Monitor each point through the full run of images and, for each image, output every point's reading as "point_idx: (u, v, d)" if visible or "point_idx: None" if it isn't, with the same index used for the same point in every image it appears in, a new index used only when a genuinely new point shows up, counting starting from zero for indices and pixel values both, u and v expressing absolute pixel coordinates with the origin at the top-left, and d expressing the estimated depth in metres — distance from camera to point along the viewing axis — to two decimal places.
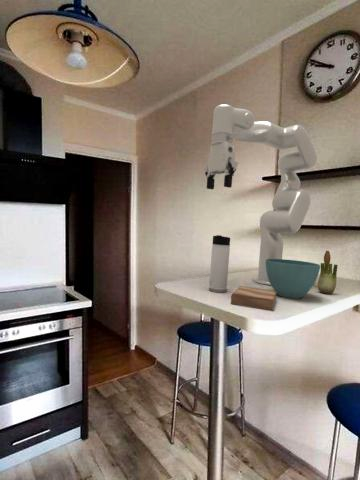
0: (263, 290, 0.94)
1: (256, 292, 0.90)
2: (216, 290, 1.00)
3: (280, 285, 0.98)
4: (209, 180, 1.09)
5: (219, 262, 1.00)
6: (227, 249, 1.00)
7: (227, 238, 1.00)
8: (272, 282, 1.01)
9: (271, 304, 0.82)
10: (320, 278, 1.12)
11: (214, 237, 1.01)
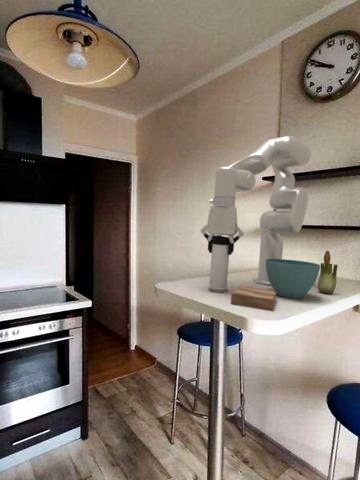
0: (263, 290, 0.94)
1: (256, 292, 0.90)
2: (216, 290, 1.00)
3: (280, 285, 0.98)
4: None
5: (219, 262, 1.00)
6: (227, 249, 1.00)
7: (227, 238, 1.00)
8: (272, 282, 1.01)
9: (271, 304, 0.82)
10: (320, 278, 1.12)
11: (214, 237, 1.01)
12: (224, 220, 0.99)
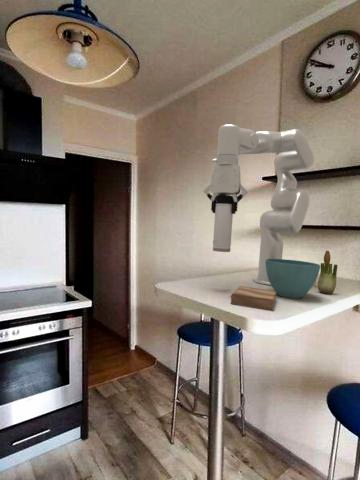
0: (263, 290, 0.94)
1: (256, 292, 0.90)
2: (220, 249, 1.00)
3: (280, 285, 0.98)
4: None
5: (222, 220, 0.99)
6: (231, 208, 1.00)
7: (230, 197, 0.99)
8: (272, 282, 1.01)
9: (271, 304, 0.82)
10: (320, 278, 1.12)
11: (217, 196, 1.00)
12: (228, 178, 0.98)
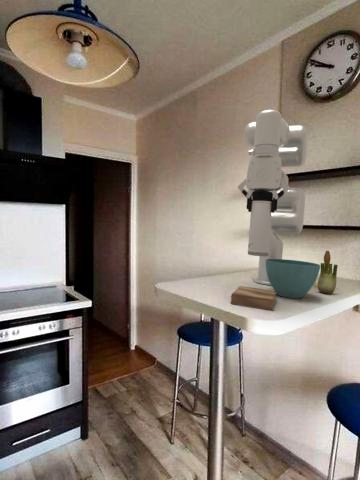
0: (263, 290, 0.94)
1: (256, 292, 0.90)
2: (257, 253, 0.87)
3: (280, 285, 0.98)
4: None
5: (261, 220, 0.87)
6: (270, 206, 0.87)
7: (270, 193, 0.87)
8: (272, 282, 1.01)
9: (271, 304, 0.82)
10: (320, 278, 1.12)
11: (255, 193, 0.88)
12: (268, 172, 0.86)
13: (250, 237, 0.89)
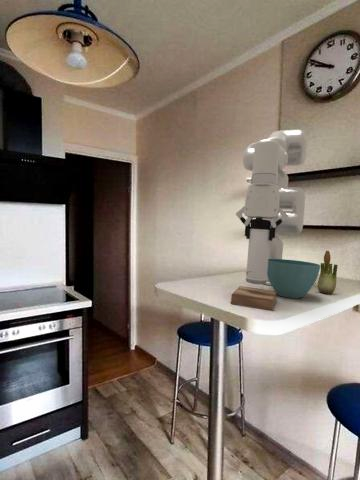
0: (263, 290, 0.94)
1: (256, 292, 0.90)
2: (255, 281, 0.87)
3: (280, 285, 0.98)
4: None
5: (259, 249, 0.87)
6: (268, 234, 0.87)
7: (268, 221, 0.87)
8: (272, 282, 1.01)
9: (271, 304, 0.82)
10: (320, 278, 1.12)
11: (253, 221, 0.88)
12: (266, 200, 0.86)
13: (248, 265, 0.89)
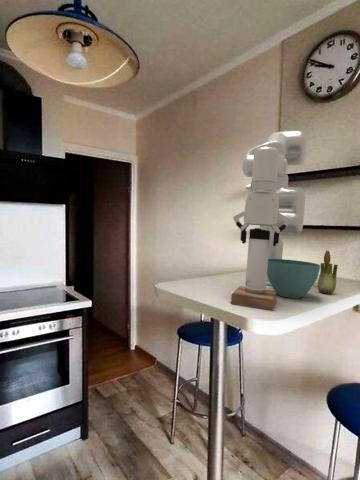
0: None
1: None
2: (255, 291, 0.88)
3: (280, 285, 0.98)
4: None
5: (258, 259, 0.87)
6: (267, 244, 0.88)
7: (267, 232, 0.87)
8: (272, 282, 1.01)
9: (271, 304, 0.82)
10: (320, 278, 1.12)
11: (252, 231, 0.89)
12: (265, 208, 0.86)
13: (247, 274, 0.90)
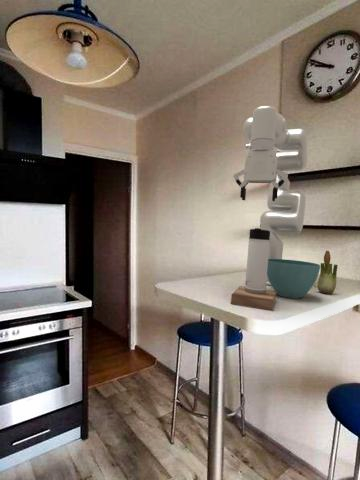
0: None
1: None
2: (255, 291, 0.88)
3: (280, 285, 0.98)
4: None
5: (258, 259, 0.87)
6: (267, 244, 0.88)
7: (267, 232, 0.87)
8: (272, 282, 1.01)
9: (271, 304, 0.82)
10: (320, 278, 1.12)
11: (252, 231, 0.88)
12: (264, 165, 0.91)
13: (247, 274, 0.90)
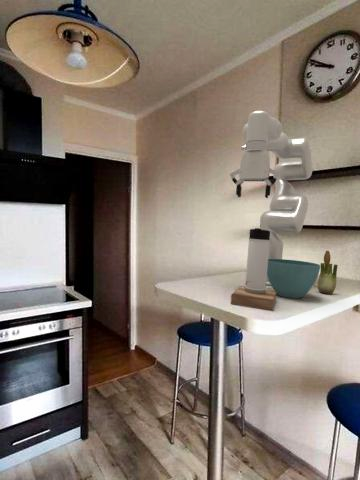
0: None
1: None
2: (255, 291, 0.88)
3: (280, 285, 0.98)
4: None
5: (258, 259, 0.87)
6: (267, 244, 0.88)
7: (267, 232, 0.87)
8: (272, 282, 1.01)
9: (271, 304, 0.82)
10: (320, 278, 1.12)
11: (252, 231, 0.88)
12: (258, 164, 0.99)
13: (247, 274, 0.90)
